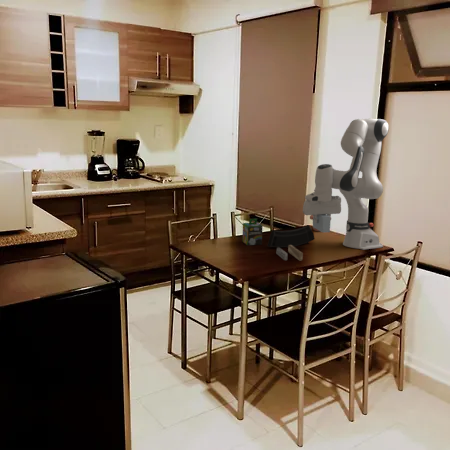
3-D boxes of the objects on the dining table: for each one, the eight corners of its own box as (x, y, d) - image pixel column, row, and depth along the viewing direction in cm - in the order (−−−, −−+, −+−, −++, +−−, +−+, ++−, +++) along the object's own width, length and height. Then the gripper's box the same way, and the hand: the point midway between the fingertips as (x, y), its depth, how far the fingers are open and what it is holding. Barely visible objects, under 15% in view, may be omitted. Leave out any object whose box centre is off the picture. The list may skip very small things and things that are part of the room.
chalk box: (256, 240, 277) (257, 216, 274) (262, 244, 268) (263, 219, 265) (241, 241, 274) (242, 217, 271) (247, 245, 266) (248, 220, 262)
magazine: (267, 234, 256) (310, 214, 267) (263, 232, 259) (306, 213, 270) (273, 261, 262) (315, 241, 273) (270, 260, 265) (312, 240, 276)
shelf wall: (290, 251, 255) (291, 244, 254) (302, 260, 240) (302, 253, 239) (288, 252, 255) (288, 244, 254) (299, 260, 240) (300, 253, 239)
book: (319, 226, 251) (320, 211, 249) (329, 232, 239) (330, 216, 237) (312, 226, 250) (313, 212, 248) (322, 232, 238) (323, 217, 236)
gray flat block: (279, 253, 251) (279, 247, 251) (287, 260, 240) (287, 253, 239) (276, 253, 251) (276, 247, 250) (284, 260, 240) (284, 253, 239)
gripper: (338, 194, 246) (336, 220, 249) (302, 196, 241) (301, 222, 244) (344, 196, 240) (342, 222, 243) (307, 198, 235) (305, 225, 238)
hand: (321, 222), depth 244 cm, fingers closed on book, 4 cm apart
